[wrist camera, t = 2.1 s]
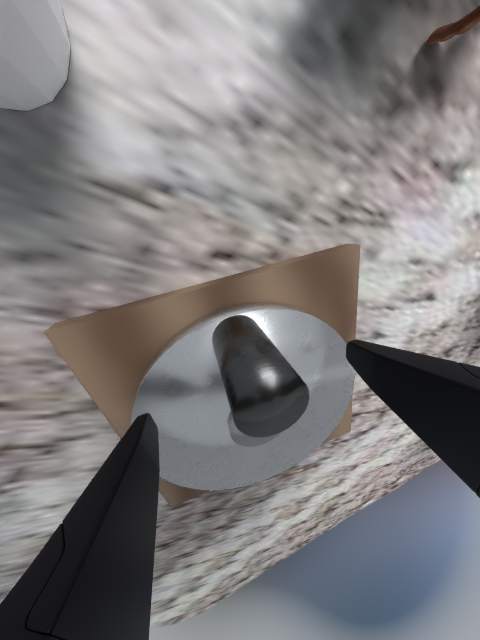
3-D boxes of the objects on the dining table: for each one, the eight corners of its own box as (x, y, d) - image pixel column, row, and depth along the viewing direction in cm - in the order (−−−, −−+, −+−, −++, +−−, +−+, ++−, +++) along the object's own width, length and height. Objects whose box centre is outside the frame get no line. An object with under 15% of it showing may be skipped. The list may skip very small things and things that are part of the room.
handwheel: (181, 496, 20) (181, 621, 13) (85, 348, 12) (-17, 477, 6) (340, 429, 22) (403, 509, 16) (343, 272, 14) (466, 306, 8)
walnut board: (171, 493, 21) (171, 507, 20) (55, 323, 12) (43, 332, 11) (342, 422, 24) (350, 431, 23) (347, 243, 15) (360, 244, 14)
